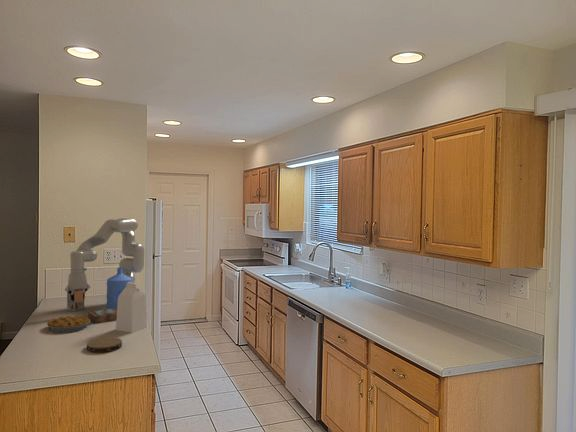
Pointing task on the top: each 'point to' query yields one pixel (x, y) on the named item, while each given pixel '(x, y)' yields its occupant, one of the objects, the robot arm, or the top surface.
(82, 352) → the top surface
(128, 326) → the milk
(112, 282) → the water jug
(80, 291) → the terracotta block
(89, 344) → the brown round disc
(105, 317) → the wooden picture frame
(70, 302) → the coffee box
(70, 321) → the pie
